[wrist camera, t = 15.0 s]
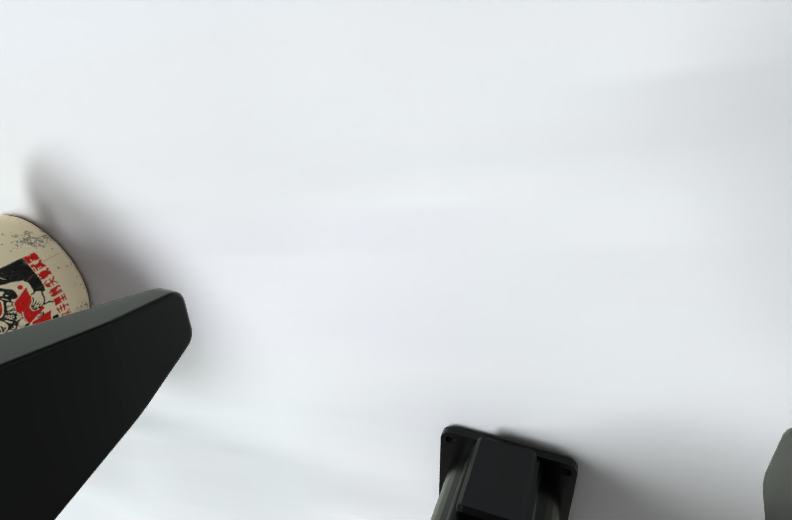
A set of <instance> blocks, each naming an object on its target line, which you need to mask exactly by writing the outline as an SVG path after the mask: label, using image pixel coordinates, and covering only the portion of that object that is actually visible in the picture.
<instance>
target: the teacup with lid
mask: <svg viewBox="0 0 792 520" xmlns="http://www.w3.org/2000/svg"><path fill="white" fill-rule="evenodd" d="M88 308H90V303H89V297H88V293H87V289H86V286H85V284H84V281H83V279H82V277H81V275H80V273H79V271H78V270H77V268H76V266H75V265H74V263H73V262H72V260H71V259H70V257H69V256H68V255H67V254H66V252H65V251H64V250H63V249H62V248H61V247H60V246H59V245H58V244H57V243H56V242H55V241H54V240H53V239H52V238H51V237H50V236H49V235H48V234H46V233H45V232H44V231H42V230H41V229H40V228H38V227H36V226H35V225H33V224H32V223H30V222H28V221H26V220H23V219H21V218H18V217H14V216H9V215H0V334H3V333H6V332H10V331H13V330H16V329H20V328H23V327H27V326H30V325H33V324H37V323H40V322H44V321H47V320H50V319H54V318H57V317H61V316H64V315H68V314H71V313H74V312H78V311H81V310H85V309H88Z"/></svg>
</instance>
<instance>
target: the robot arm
mask: <svg viewBox="0 0 792 520" xmlns="http://www.w3.org/2000/svg"><path fill="white" fill-rule="evenodd" d="M191 337H192V328H191V324H190V320H189V316H188V313H187V309H186V305H185V301H184V298H183V297H182V295H181V294H180V293H178V292H176V291H171V290H167V289H161V288H158V289H153V290H150V291H146V292H143V293H139V294H136V295H132V296H129V297H126V298H122V299H119V300H115V301H112V302H109V303H105V304H102V305H98V306H95V307H91V308H88V309H85V310H81V311H78V312H74V313H71V314H68V315H64V316H61V317H57V318H54V319H50V320H47V321H44V322H40V323H37V324H33V325H30V326H27V327H23V328H20V329H16V330H13V331H10V332H6V333H3V334H0V520H55V519H56V518H57V516H58V515H59V514H60V513H61V511H62V510H63V509H64V508H65V507H66V505H67V504H68V503H69V502H70V501H71V499H72V498H73V497H74V496H75V494H76V493H77V492H78V491H79V490H80V488H81V487H82V486H83V485H84V484H85V482H86V481H87V480H88V479H89V477H90V476H91V475H92V474H93V473H94V471H95V470H96V469H97V468H98V467H99V465H100V464H101V463H102V462H103V460H104V459H105V458H106V457H107V456H108V454H109V453H110V452H111V451H112V450H113V448H114V447H115V446H116V445H117V443H118V442H119V441H120V440H121V439H122V437H123V436H124V435H125V434H126V432H127V431H128V430H129V429H130V428H131V426H132V425H133V424H134V423H135V421H136V420H137V419H138V417H139V416H140V415H141V414H142V412H143V411H144V409H145V408H146V407H147V405H148V404H149V402H150V401H151V399H152V398H153V396H154V395H155V394H156V392H157V391H158V389H159V388H160V386H161V385H162V383H163V382H164V380H165V379H166V377H167V376H168V374H169V373H170V372H171V370H172V369H173V367H174V366H175V364H176V363H177V361H178V360H179V358H180V357H181V355H182V354H183V353H184V351H185V350H186V348H187V347H188V345H189V343H190V341H191ZM450 436H451V437H450ZM452 437H453V438H452ZM565 468H568V469H565ZM577 473H578V465H577V463H576V462H575V461H574V460H573V459H570V458H567V457H564V456H560V455H556V454H553V453H549V452H545V451H541V450H538V449H534V448H530V447H526V446H523V445H519V444H515V443H511V442H508V441H504V440H500V439H496V438H493V437H489V436H485V435H482V434H478V433H474V432H470V431H467V430H463V429H459V428H455V427H450V426H449V427H446V428H445V429H444V430H443V433H442V435H441V449H440V483H439V498H438V501H437V504H436V506H435V509H434V512H433V515H432V517H431V520H568V516H569V511H570V507H571V502H572V497H573V493H574V488H575V483H576V479H577ZM763 498H764V509H765V520H792V428H790V429H788V430H787V431H786V432H785V433H784V434H783V436H782V438H781V440H780V442H779V444H778V447H777V449H776V451H775V453H774V455H773V457H772V459H771V462H770V464H769V466H768V468H767V470H766V473H765V476H764V482H763Z"/></svg>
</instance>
